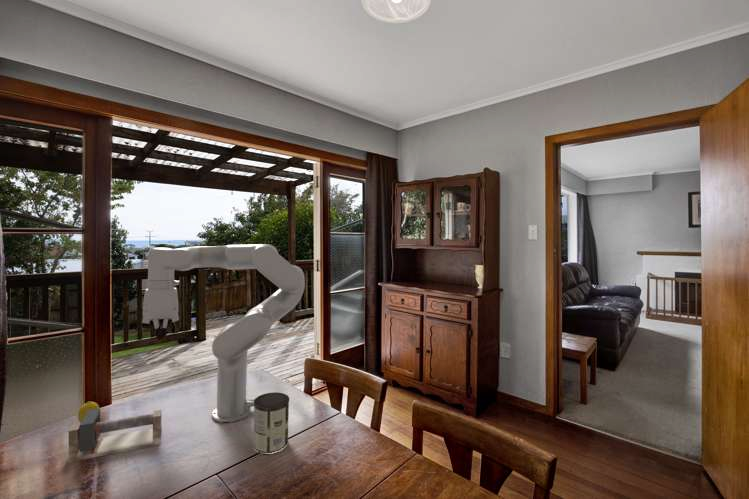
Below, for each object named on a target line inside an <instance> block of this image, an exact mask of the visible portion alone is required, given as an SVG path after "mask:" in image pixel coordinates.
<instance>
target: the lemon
mask: <svg viewBox="0 0 749 499" xmlns="http://www.w3.org/2000/svg"><path fill="white" fill-rule="evenodd" d="M94 409H100V406H99V404H98V403H96V402H95V401H87V402H86V403H84V404H82V405H81V407H80V408H79V410H78V414H77V419H78V423H81V422H82V420H83V418H84V416H85V415H86V413H87V411H88V410H94Z"/></svg>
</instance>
